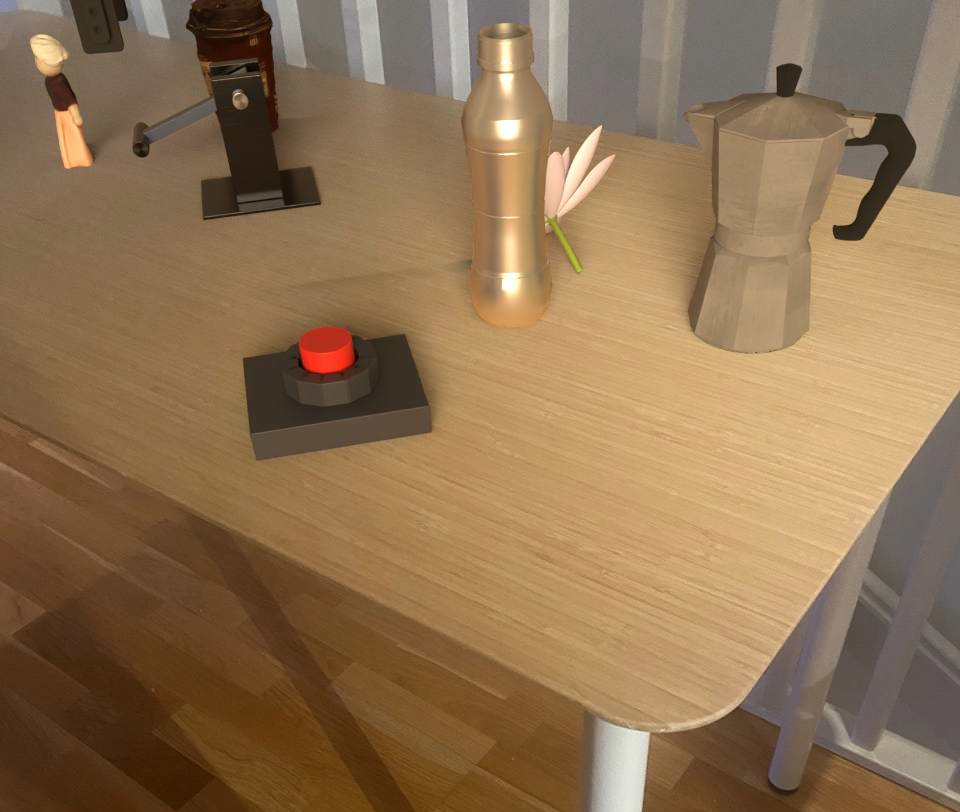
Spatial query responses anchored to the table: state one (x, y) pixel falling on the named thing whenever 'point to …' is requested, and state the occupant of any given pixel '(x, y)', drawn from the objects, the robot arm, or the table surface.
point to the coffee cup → (235, 41)
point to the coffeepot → (778, 205)
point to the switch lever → (171, 123)
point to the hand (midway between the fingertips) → (107, 35)
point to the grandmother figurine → (62, 100)
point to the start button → (326, 350)
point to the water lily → (570, 187)
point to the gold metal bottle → (508, 179)
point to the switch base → (334, 399)
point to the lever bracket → (250, 151)
